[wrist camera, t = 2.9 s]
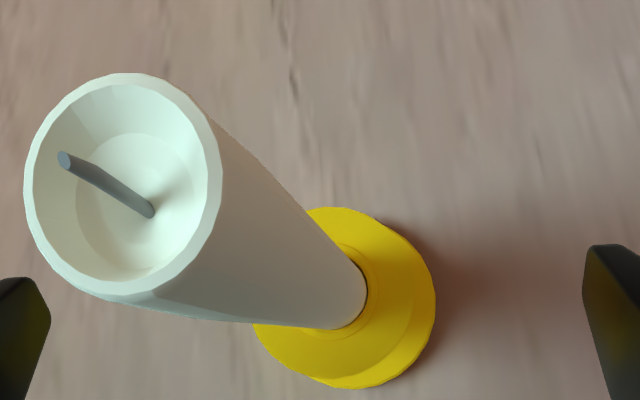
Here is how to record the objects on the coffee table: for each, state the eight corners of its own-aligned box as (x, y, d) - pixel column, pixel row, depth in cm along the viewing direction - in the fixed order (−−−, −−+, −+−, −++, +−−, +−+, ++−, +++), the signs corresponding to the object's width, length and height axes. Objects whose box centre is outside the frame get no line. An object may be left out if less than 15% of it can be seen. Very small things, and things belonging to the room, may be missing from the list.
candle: (390, 420, 17) (244, 1070, 2) (244, 338, 18) (-520, 366, 3) (463, 265, 18) (754, -104, 3) (317, 196, 19) (-33, -318, 4)
